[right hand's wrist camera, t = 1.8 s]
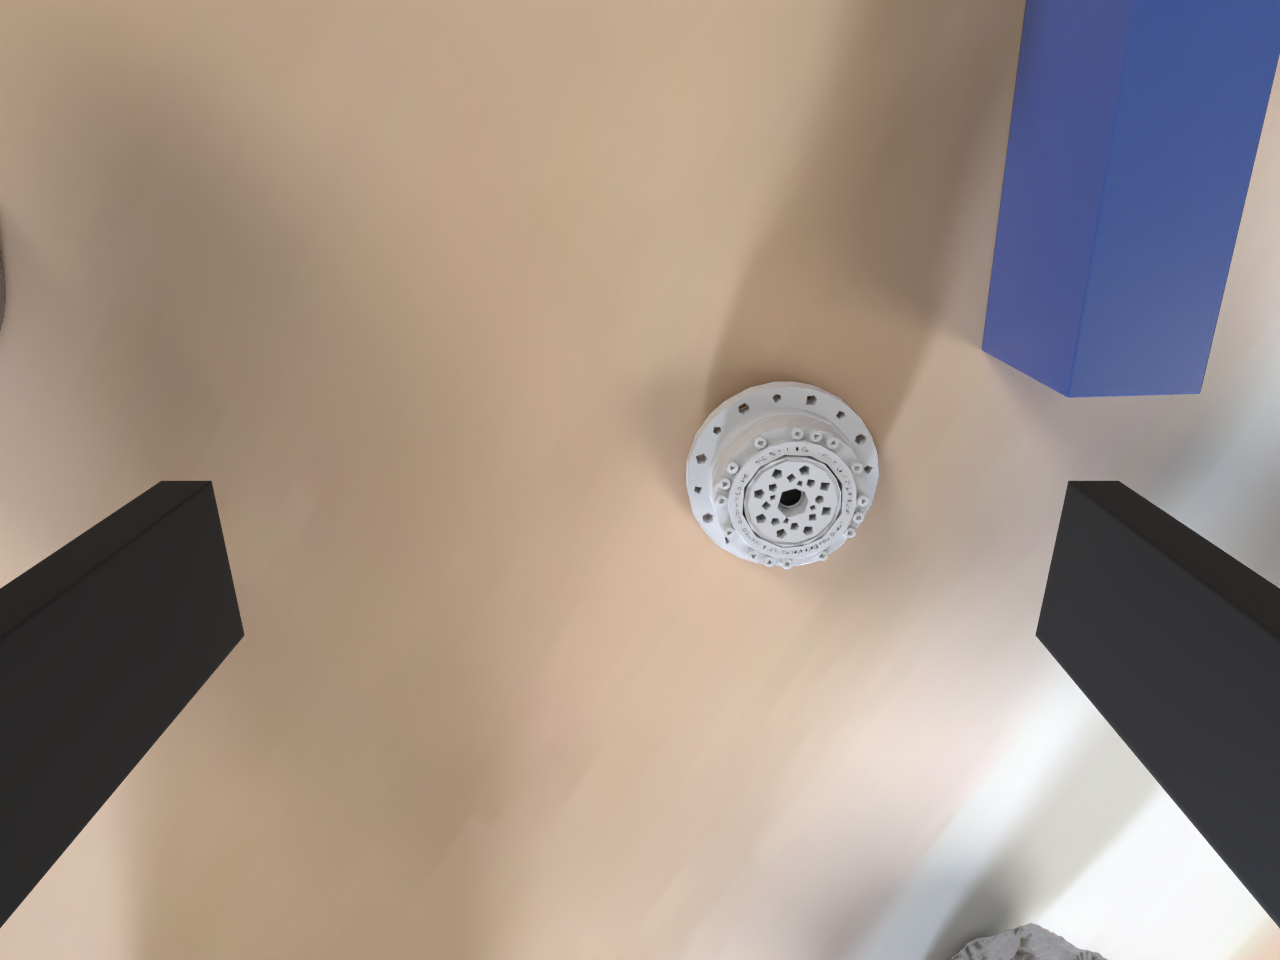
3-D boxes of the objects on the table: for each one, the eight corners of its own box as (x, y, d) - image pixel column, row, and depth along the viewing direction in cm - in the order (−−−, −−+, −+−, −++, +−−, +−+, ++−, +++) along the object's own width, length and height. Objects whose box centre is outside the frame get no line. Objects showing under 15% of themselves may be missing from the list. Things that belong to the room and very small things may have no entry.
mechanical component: (833, 571, 45) (900, 407, 42) (853, 612, 41) (928, 434, 38) (663, 529, 44) (716, 357, 41) (666, 567, 40) (725, 379, 37)
